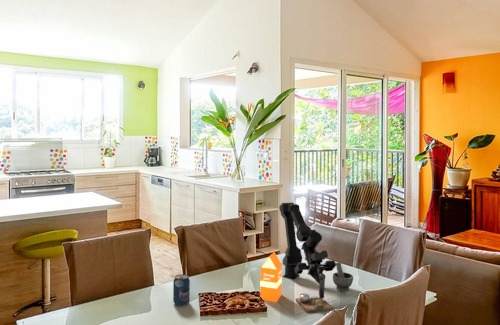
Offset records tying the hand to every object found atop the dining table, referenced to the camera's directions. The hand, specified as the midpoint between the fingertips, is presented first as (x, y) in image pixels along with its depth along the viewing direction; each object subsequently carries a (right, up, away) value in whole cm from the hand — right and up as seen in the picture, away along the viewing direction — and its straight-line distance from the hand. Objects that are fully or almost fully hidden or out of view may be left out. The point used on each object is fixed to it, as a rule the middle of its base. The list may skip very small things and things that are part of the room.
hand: (321, 284), depth 180 cm
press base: (-4, -8, -4) cm, 10 cm away
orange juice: (-22, -7, +5) cm, 24 cm away
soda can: (-61, -7, -4) cm, 62 cm away
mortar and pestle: (+13, -7, +17) cm, 22 cm away
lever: (-4, -6, -2) cm, 8 cm away
